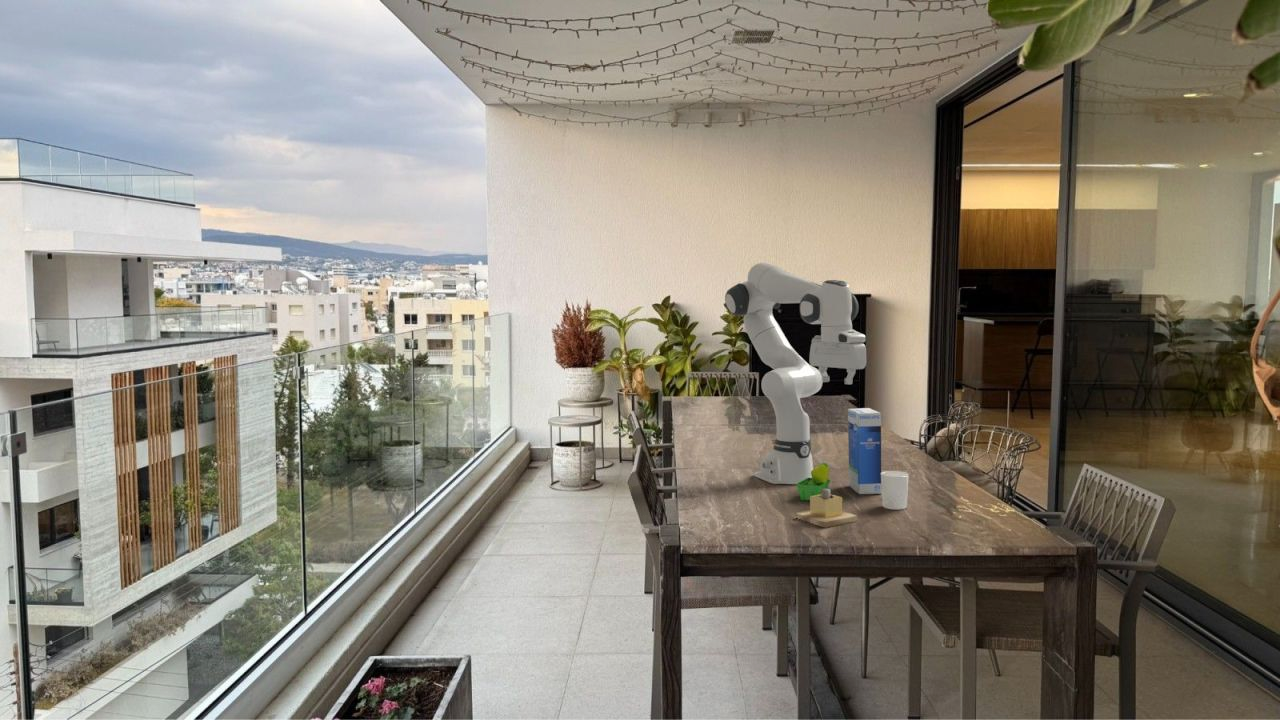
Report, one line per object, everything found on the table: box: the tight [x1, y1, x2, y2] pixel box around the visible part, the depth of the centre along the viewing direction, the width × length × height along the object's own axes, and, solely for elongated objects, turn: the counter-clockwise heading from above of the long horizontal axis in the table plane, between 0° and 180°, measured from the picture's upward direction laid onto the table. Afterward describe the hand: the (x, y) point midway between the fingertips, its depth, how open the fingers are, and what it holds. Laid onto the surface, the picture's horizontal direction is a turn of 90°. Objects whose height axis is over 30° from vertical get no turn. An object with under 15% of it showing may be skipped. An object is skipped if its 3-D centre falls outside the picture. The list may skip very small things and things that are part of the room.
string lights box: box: [847, 407, 882, 495], centre depth 268 cm, size 13×8×26 cm, turn 0°
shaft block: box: [795, 488, 858, 528], centre depth 234 cm, size 12×12×8 cm
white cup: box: [881, 470, 909, 511], centre depth 246 cm, size 8×8×10 cm
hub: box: [809, 493, 843, 518], centre depth 234 cm, size 6×6×5 cm
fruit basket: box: [795, 462, 831, 502], centre depth 260 cm, size 11×9×11 cm
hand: (836, 383), depth 245 cm, fingers open, 8 cm apart
